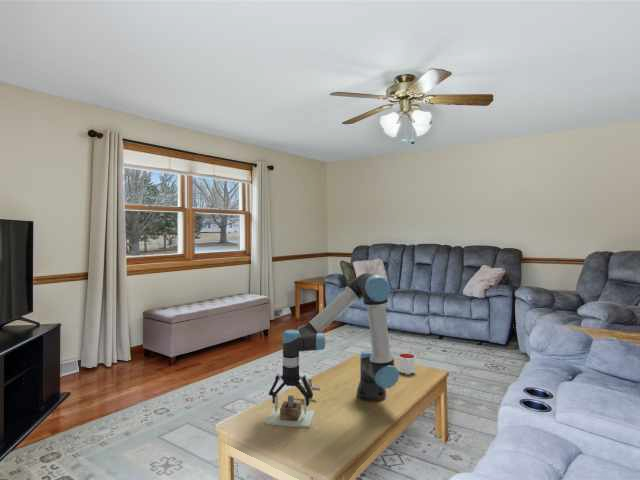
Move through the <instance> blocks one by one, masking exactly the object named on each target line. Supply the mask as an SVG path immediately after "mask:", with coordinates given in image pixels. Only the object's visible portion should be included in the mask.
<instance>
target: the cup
mask: <svg viewBox="0 0 640 480" xmlns="http://www.w3.org/2000/svg"><path fill="white" fill-rule="evenodd" d="M397 357H398V358H397V363H398V364H397V369H398V371H399V373H400V372H401V373H400V374H402V373H405V374H404V375H412V374H411V373H413V374H414V373H415V371H416V355H414V354H412V353H404V352H403V353H399V354H398V355H397Z"/></svg>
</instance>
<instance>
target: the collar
mask: <svg viewBox="0 0 640 480" xmlns="http://www.w3.org/2000/svg"><path fill="white" fill-rule="evenodd" d="M279 408H280V420H287V421H298V419H299V417H300V415H301V410H302V402H301V401H294V408H288V400H287V401H286V400H285V401H283V403H282V405H281V407H279Z"/></svg>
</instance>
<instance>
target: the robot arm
mask: <svg viewBox="0 0 640 480" xmlns="http://www.w3.org/2000/svg"><path fill="white" fill-rule="evenodd" d="M390 294H391V285H390V282H389V281H388V279H386V278H385V277H383V276H381V275H379V274H374V273H373V274H372V273H371V272H369V273H368V272H365V273H362V274H360V275H358V276H356V278H354V279H352V280H351V282H349V283H348V284H347V285H346V286H345V290H343V291H342V292H341V293H340V294H339V295H338V296H337V297H335V299H333V300H332V301H331V302H330V303H329V304H328V305H327V306H325V307H324V308H323V309H322V310H320V312H318V314H316V316H314V317H313V318H312V319H311V320H310V321H308V322H307V323H306V324H303V325H301V326H298V328H297V329H287V330H285V331H283V332H282V341H281V342H282V374H279V373H277V374H276V375H275V378H274V382H273V384H272V386H271V387H270V390H269V392H268V396H271V397H272V404H274V408H275V412H276V411H277V410H278V408H279V395H278V394H279V392H280V391H281V390H282V389H283V388H284V387H285V386H287V387H296V388H297V390H299V392H300V393H301V394H302V395H303V397H304V399H303V410H304V414H306V412H307V410H308V407H309V405H310V399H309V398H311V399H313V396H314V393H313V390H312V391H311V389H310V386H309V381H308V379H307V376H306V375H305V374H304V375H303V376H301V375H300V352H312V351H321V350H324V349H325V348H326V337H325V335H324V333H321V332H322V331H323V330H324V329H326V328H327V327H328V326H329V325H330V324H331V323H332V322H334V321H335V320H336V319H337V318H338V317H339V316H341V315H342V313H344V312H346V310H347V309H348V308H349V307H350V306H352V304H354V303H355V302H360V300H362V299H363V300H362V301H363V305H364V306H365V307H366V308H367V316H368V326H369V334H370V336H369V337H370V343H371V345H370V346H371V349H370V350H369V349H368V350H364V351H362V352H360V357H359V359H360V361H359V364H360V369H359V371H360V372H359V373H360V375H359V377H360V380H359V383H358V387H357V388H356V396H357V397H358V399H361V400H364V401H367V402H380V401H383V400H385V399H386V398H387V390H386V389H391V388H393V387H394V386H396V384H397V383H398V381H399V379H400V372H399V371H398V367H397V366H395V358H394V356H393V355H392V354H391V352H390V350H391V349H390V341H389V333H388V332H389V330H388V321H387V310H386V305H387V304H388V303H389V299H388V298H389V296H390ZM280 380H282V381H283V382H282V383H281V384H280V385H279V386H278V388H277V389H276V390H275V388H276V386H277V385H278V382H279V381H280ZM300 381H301V382H302V384H303V385H302V384H301V383H300ZM302 386H305V388H306V390H305V389H304V388H303V387H302ZM306 391H307V392H308V393H307V392H306Z"/></svg>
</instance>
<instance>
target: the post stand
mask: <svg viewBox="0 0 640 480" xmlns="http://www.w3.org/2000/svg"><path fill="white" fill-rule="evenodd" d="M287 401H288V408H294V402H295V396H294V395H291V394H290V395H288V396H287ZM280 408H281V407H278V410H277V411H276V412H275V407H273V408H272V410H271V411H270V413H269V415H268V417H267V418H266V420H265V421H264V424H265V425H268V426H269V425H270V426H280V427H292V428H305V429H307V428H308V429H311V425H312V423H313V420H314V418H315V414H316V411H315V410H308V409H307V412H306V414H304V409H301V415H300V417H299V419H298V421H287V420H280Z"/></svg>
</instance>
